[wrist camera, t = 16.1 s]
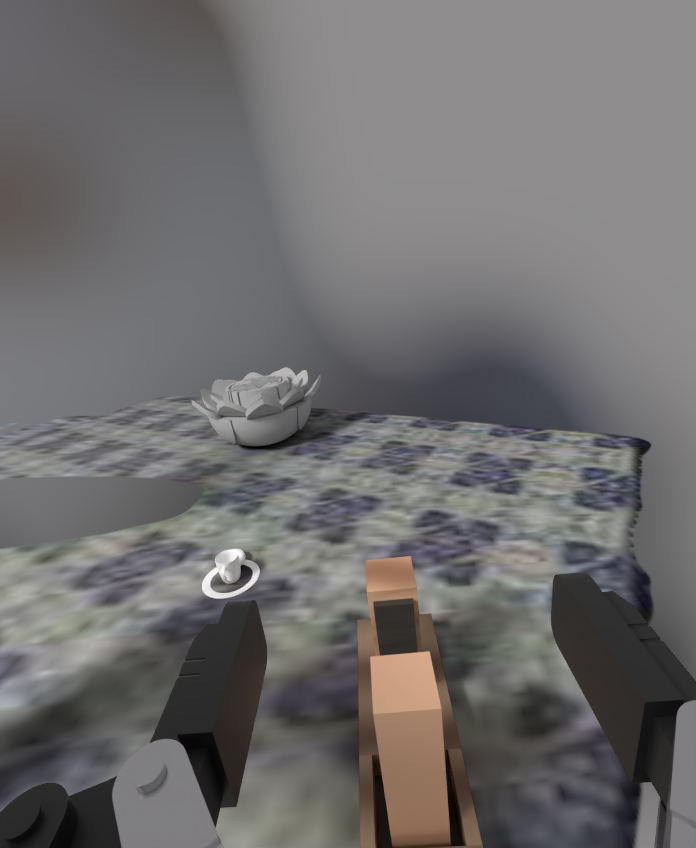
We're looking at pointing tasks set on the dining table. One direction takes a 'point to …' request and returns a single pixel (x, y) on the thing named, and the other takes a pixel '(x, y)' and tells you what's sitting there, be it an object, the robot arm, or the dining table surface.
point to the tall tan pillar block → (411, 749)
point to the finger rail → (381, 635)
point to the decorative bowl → (259, 407)
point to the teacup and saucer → (230, 572)
